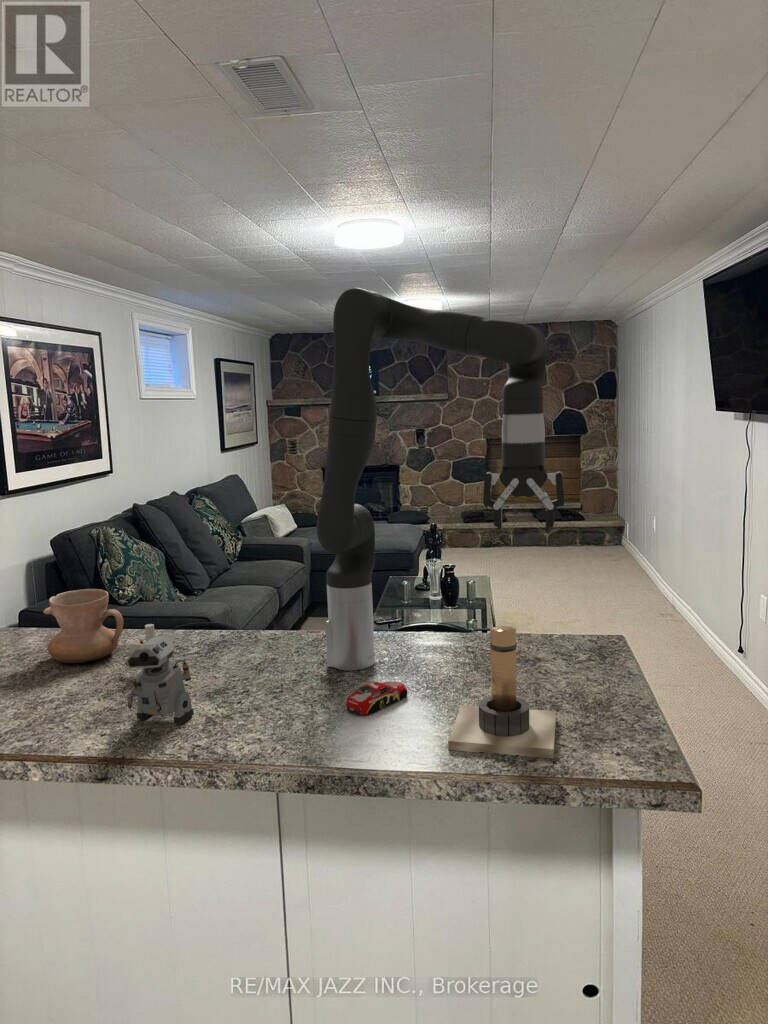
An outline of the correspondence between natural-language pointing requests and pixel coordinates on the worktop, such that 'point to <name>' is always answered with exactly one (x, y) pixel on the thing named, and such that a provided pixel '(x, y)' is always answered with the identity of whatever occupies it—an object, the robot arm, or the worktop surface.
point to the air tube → (503, 668)
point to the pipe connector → (149, 634)
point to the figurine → (159, 681)
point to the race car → (375, 697)
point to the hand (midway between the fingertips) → (523, 529)
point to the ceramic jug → (82, 626)
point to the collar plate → (504, 730)
